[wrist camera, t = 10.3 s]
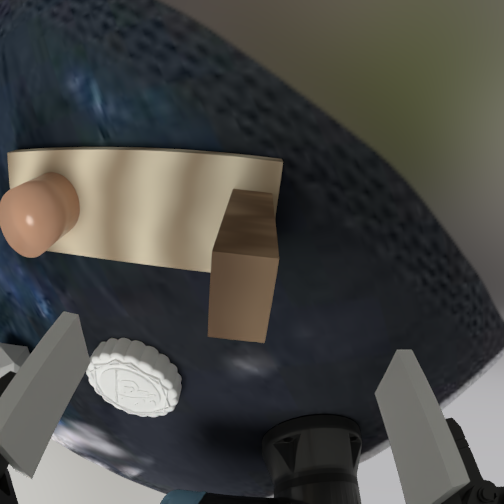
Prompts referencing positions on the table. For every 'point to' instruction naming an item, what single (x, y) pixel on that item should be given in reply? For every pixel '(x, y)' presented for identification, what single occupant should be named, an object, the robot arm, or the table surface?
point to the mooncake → (134, 377)
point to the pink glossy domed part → (38, 213)
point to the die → (12, 358)
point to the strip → (176, 219)
